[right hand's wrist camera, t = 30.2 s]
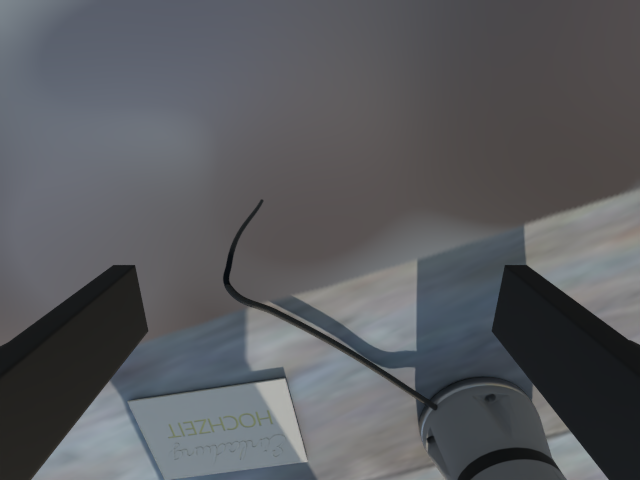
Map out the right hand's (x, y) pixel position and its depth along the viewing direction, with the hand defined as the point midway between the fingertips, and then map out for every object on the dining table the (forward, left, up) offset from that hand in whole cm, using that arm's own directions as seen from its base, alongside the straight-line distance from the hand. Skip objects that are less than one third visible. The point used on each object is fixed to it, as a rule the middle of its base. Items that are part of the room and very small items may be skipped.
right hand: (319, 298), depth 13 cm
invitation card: (+14, -35, -25) cm, 45 cm away
